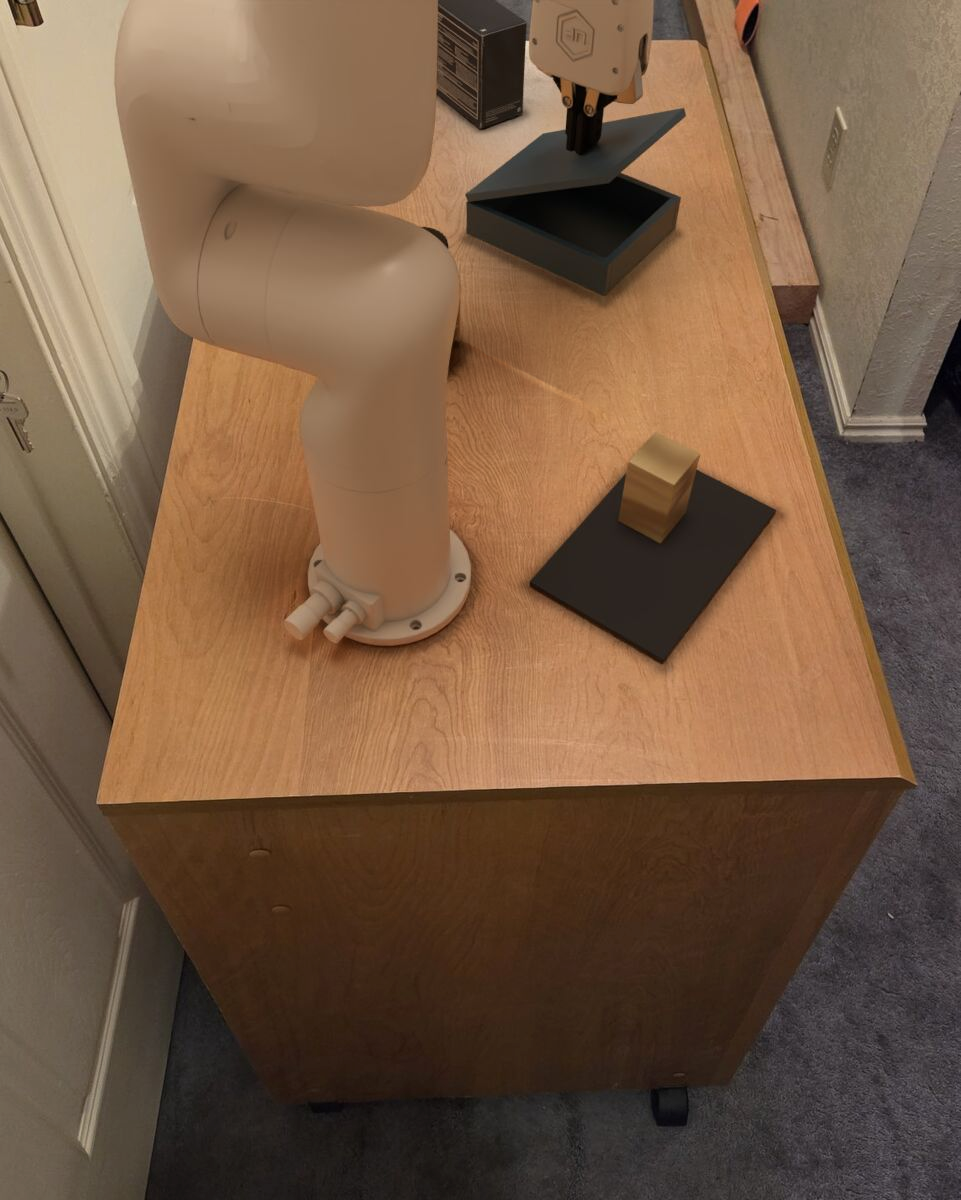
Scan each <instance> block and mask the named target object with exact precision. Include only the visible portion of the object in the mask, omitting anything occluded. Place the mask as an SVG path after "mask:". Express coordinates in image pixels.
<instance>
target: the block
mask: <svg viewBox="0 0 961 1200" xmlns="http://www.w3.org/2000/svg"><path fill="white" fill-rule="evenodd" d="M700 458H701V453H700V452H698V451H696V450H694V449H692V448H690V447H688V446H687V445H684V444H683V443H680V442H678V441H676V440H675V439H672V438H670V437H669V436H666V435H664V434H662V433H660V432H659V431H654V432H653V433H652V434H651V435H650V437H649V438H648V439H647V440H646V441H645V442H644V444H642V445H641V447H640V448H639V449H638V450H637V451H636V452H635V454H634V455H632V457H631V458H630V459H629V460H628V462H627V468H626V472H627V473H626V472H625V474H626V479H625V485H624V490H623V496H622V502H621V508H620V513H619V519H618V521H620V522H621V523H623V524H625V525H627V526H629V527H631V528H633V529H634V530H636V531H638V532H640V533H642V534H644V535H645V536H647V537H649V538H651V539H653V540H655V541H657V542H658V543H661V542H662V541H663V540H664V539H665V537H666V536H667V535H668V534H669V533H670V531H671V530H672V529H673V528H674V526H675V525H676V524H677V523H678V522H679V520H680V519H681V518H682V517H683V515H684V514H685V513H686V509H687V505H688V501H689V497H690V493H691V489H692V485H693V481H694V477H695V473H696V469H697V470H698V466H699V462H700Z"/></svg>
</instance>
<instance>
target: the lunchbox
mask: <svg viewBox="0 0 961 1200" xmlns="http://www.w3.org/2000/svg"><path fill="white" fill-rule="evenodd" d="M681 198H682V197H681V196H679V195H677V194H675V193H672V192H670V191H667V190H665V189H661V188H660V187H657V186H654V185H652V184H649V183H647V182H645V181H643V180H641V179H638V178H635V177H633V176H630V175H627V174H625V173H622V172H621V173H620V174H619V175H617V176H616V177H615V178H614V179H613V180H612V181H611V182H609V183H607V184H600V185H592V186H584V187H577V188H569V189H562V190H554V191H547V192H539V193H531V194H524V195H516V196H509V197H501V198H493V199H486V200H478V201H471V202H468V201H466V209H465V210H466V234H467V235H469V236H471V237H473V238H476V239H477V240H480V241H482V242H484V243H486V244H489V245H491V246H493V247H495V248H498V249H500V250H502V251H503V252H506V253H508V254H510V255H513V256H515V257H517V258H519V259H521V260H524V261H526V262H528V263H531V264H532V265H535V266H537V267H539V268H541V269H544V270H545V271H548V272H550V273H552V274H554V275H556V276H559V277H561V278H562V279H565V280H568V281H570V282H572V283H574V284H576V285H579V286H581V287H583V288H584V289H587V290H589V291H591V292H594V293H596V294H598V295H600V296H603V297H605V296H607V295H608V293H610V292H611V291H612V289H614V288H615V287H616V286H617V285H618V284H619V283H620V282H621V281H622V280H623V279H624V278H625V277H626V276H627V275H628V274H629V273H630V272H631V271H633V269H635V268H636V267H637V266H638V264H640V263H641V262H642V261H643V260H644V259H645V258H646V257H647V256H648V255H649V254H650V253H651V252H652V251H653V250H654V249H655V248H657V247H658V245H660V243H662V242H663V241H664V240H665V239H666V238H667V237H668V236H669V235H670V234H671V233H673V231H674V230H675V229H676V228H677V223H678V217H679V211H680V205H681V200H682V199H681Z"/></svg>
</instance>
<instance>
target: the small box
mask: <svg viewBox="0 0 961 1200" xmlns="http://www.w3.org/2000/svg"><path fill="white" fill-rule="evenodd" d="M527 27H528V22H527V20H525V19H523V18H522V17H521V16H519V15H518V14H516V13H515V12H513V11H511V9H509V8H507V7H506V6H504V5H503V4H502V3H500V2H499V1H497V0H438V30H437V86H436V95H438V97H440V98H441V99H442V100H443V101H445V102H446V103H447V104H448V105H450V106H451V107H452V108H453V109H455V110H456V111H457V112H459V113H460V114H461V115H462V116H464V117H465V118H466V119H468V121H470V122H471V123H472V124H473V125H474V126H476V127H477V128H478V129H484V128H487V127H489V126H491V125H495V124H498V123H501V122H502V121H506V120H510V119H512V118H515V117H518V116H521V115H522V114H523V111H524V91H525V90H524V87H525V69H526V67H525V66H526V46H527V45H526V44H527Z"/></svg>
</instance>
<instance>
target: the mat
mask: <svg viewBox="0 0 961 1200" xmlns="http://www.w3.org/2000/svg"><path fill="white" fill-rule="evenodd" d="M626 473H627V471H626V472H625V473H624V475H623V476H622V477H621V478H620V479H619V480H618V481H617V482H616V484H615V485H614V486H613V487H612V488H611V489H610V490H609V492H608V493H607V494H605V496H604V497H603V498H602V499H601V500H600V502H599V503H598V504H597V505H596V506H595V507H594V508H593V509H592V511H591V512H590V513H589V514H588V515H587V516H586V517H585V519H583V521H582V522H581V523H580V524H579V525H578V527H577V528H576V529H574V531H573V532H572V533H571V534H570V536H569V537H567V538H566V540H565V541H564V542H563V543H562V544H561V546H560V547H558V549H557V550H556V551H555V552H554V553H553V554H552V555H551V556H550V558H549V559H548V560H547V562H545V563H544V565H543V566H542V567H541V568H540V569H539V571H537V573H536V574H534V576H533V577H532V578H531V579H530V580H529V587H531V588H532V589H534V590H536V591H537V592H539V593H541V594H542V595H544V596H546V597H547V598H549V599H551V600H552V601H554V602H556V603H557V604H559V605H561V606H562V607H564V608H566V609H568V610H570V611H572V612H573V613H575V614H577V615H578V616H580V617H582V618H583V619H585V620H586V621H588V622H590V623H593V625H596V626H597V627H599V628H600V629H602V630H604V631H605V632H607V633H609V634H610V635H613V636H614V637H616V638H618V639H619V640H621V641H622V642H624V643H626V644H628V645H629V646H631V647H632V648H634V649H636V650H637V651H640V652H641V653H642V654H645V655H646V656H648V657H649V658H651V659H653V660H655V661H656V662H658V663H660V664H664V663H665V661H666V660H667V659H668V657H669V656H670V654H671V653H672V652H673V651H674V649H675V648H676V646H677V645H678V644H679V643H680V642H681V640H682V639H683V637H684V636H685V635H686V633H687V632H688V631H689V629H690V628H691V627H692V626H693V624H694V623H695V621H696V620H697V619H698V617H699V616H700V615H701V613H702V612H703V611H704V609H705V608H706V607H707V606H708V604H709V603H710V601H711V600H712V598H714V596H715V595H716V593H717V592H718V590H719V589H720V588H721V587H722V585H723V584H724V583H725V581H726V580H727V579H728V577H729V576H730V575H731V574H732V572H733V571H734V569H735V568H736V567H737V565H738V564H739V563H740V561H741V560H742V559H743V558H744V556H745V554H746V553H748V551H749V550H750V548H751V547H752V545H753V544H754V543H755V541H756V540H757V539H758V538H759V536H760V535H761V534H762V532H764V529H765V528H766V527H767V526H768V525H769V523H770V521H771V520H772V519H773V518H774V516H775V515H776V512H777V509H776V508H773V507H771V506H770V505H767V504H765V503H764V502H762V501H760V500H758V499H756V498H754V497H752V496H750V495H748V494H746V493H744V492H742V491H740V490H738V489H736V488H734V487H732V486H730V485H729V484H727V483H724V482H722V481H720V480H718V479H716V478H715V477H712V476H710V475H709V474H706V473H705V472H703V471H701V470H698V468H697V469H696V473H695V477H694V481H693V485H692V489H691V493H690V497H689V501H688V505H687V509H686V513H685V514H684V515H683V517H682V518H681V519H680V520H679V522H678V523H677V524H676V525H675V526H674V528H673V529H672V530H671V531H670V533H669V534H668V535H667V536H666V537H665V539H664V540H663V541H662V542H661V543H658V542H657V541H655V540H653V539H651V538H649V537H647V536H645V535H644V534H642V533H640V532H638V531H636V530H634V529H633V528H631V527H629V526H627V525H625V524H623V523H621V522H620V521H618V519H619V513H620V508H621V502H622V496H623V490H624V485H625V479H626Z"/></svg>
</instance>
